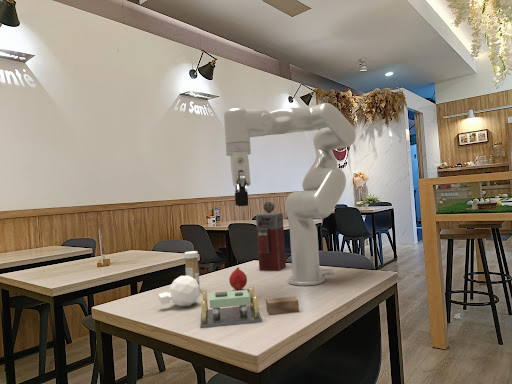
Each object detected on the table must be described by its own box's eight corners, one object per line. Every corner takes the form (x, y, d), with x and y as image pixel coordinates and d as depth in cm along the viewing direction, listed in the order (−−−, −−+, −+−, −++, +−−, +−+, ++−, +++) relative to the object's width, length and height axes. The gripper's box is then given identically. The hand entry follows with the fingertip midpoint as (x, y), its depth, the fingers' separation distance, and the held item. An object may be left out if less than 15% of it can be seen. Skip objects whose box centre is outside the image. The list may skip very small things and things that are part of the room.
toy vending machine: (257, 271, 156) (252, 203, 156) (266, 266, 166) (262, 201, 167) (278, 272, 153) (273, 201, 153) (286, 266, 163) (282, 200, 163)
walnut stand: (295, 307, 105) (295, 296, 105) (298, 311, 101) (298, 300, 101) (266, 310, 104) (266, 299, 104) (268, 314, 100) (268, 303, 100)
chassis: (256, 307, 107) (254, 286, 107) (261, 321, 95) (260, 297, 95) (201, 313, 105) (200, 291, 105) (200, 327, 93) (198, 303, 93)
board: (247, 297, 104) (246, 287, 104) (249, 304, 97) (249, 294, 97) (210, 300, 103) (209, 290, 103) (210, 308, 96) (209, 297, 96)
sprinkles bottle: (202, 291, 129) (200, 251, 129) (189, 294, 126) (187, 253, 126) (196, 289, 132) (194, 250, 133) (184, 291, 130) (182, 252, 130)
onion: (226, 292, 126) (224, 267, 126) (238, 288, 130) (237, 264, 130) (238, 294, 122) (237, 269, 122) (251, 290, 126) (249, 266, 126)
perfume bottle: (194, 292, 120) (157, 304, 115) (192, 266, 117) (154, 277, 112) (205, 306, 113) (166, 320, 108) (203, 279, 110) (163, 292, 105)
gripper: (253, 145, 109) (257, 205, 109) (247, 152, 127) (251, 204, 126) (227, 146, 109) (230, 207, 108) (225, 153, 126) (228, 205, 126)
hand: (241, 205), depth 117 cm, fingers open, 9 cm apart
